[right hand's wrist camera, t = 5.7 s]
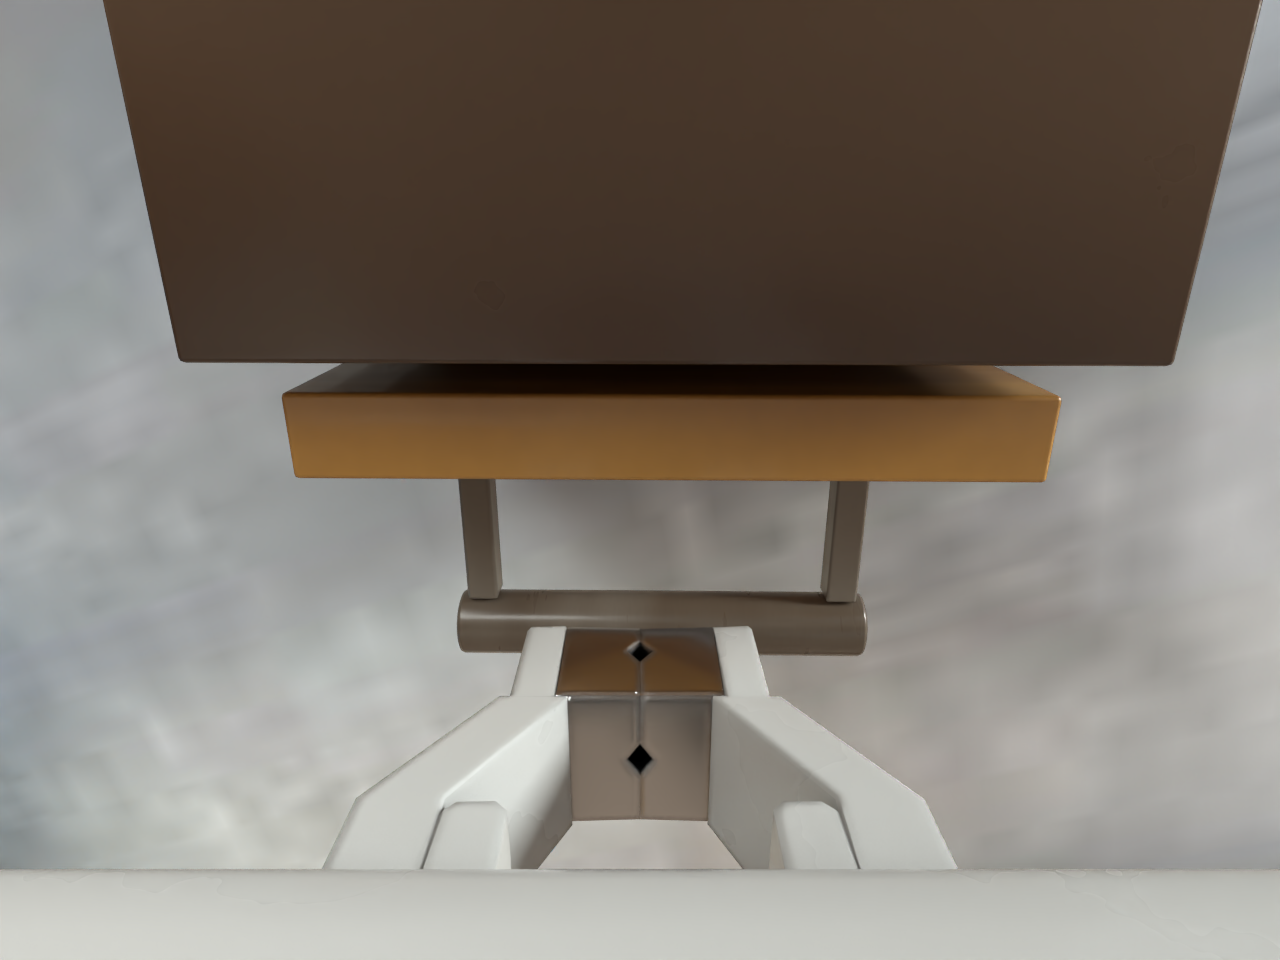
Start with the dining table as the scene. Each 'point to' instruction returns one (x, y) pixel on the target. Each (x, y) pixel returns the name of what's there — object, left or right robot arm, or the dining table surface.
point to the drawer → (670, 464)
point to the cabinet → (680, 177)
